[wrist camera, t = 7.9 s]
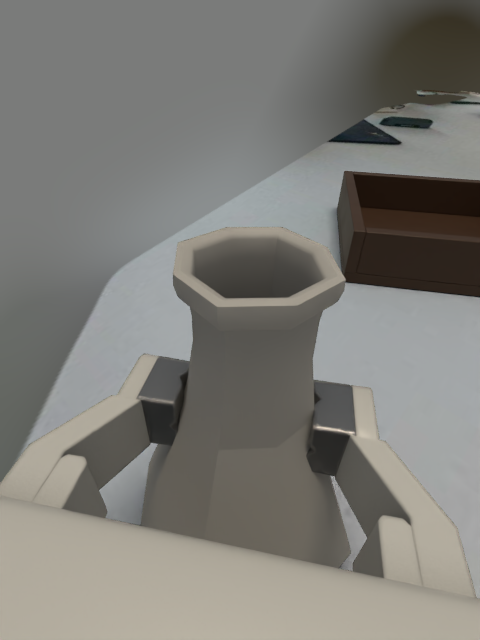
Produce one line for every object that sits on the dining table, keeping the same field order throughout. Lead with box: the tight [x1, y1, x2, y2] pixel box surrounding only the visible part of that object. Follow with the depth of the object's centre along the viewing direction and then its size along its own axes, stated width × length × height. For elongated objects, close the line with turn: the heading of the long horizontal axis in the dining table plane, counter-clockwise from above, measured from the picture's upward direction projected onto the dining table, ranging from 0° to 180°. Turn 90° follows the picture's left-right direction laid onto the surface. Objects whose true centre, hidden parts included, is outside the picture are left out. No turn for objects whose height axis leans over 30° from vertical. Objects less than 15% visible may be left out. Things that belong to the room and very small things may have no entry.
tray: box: [337, 171, 480, 296], centre depth 30 cm, size 15×15×4 cm
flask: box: [140, 227, 351, 568], centre depth 10 cm, size 7×7×10 cm
